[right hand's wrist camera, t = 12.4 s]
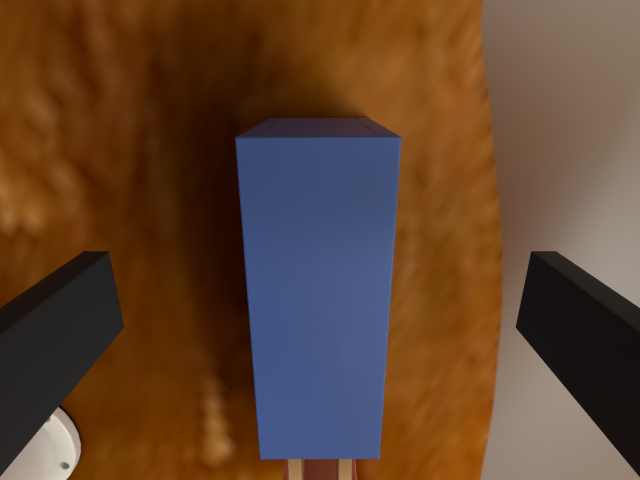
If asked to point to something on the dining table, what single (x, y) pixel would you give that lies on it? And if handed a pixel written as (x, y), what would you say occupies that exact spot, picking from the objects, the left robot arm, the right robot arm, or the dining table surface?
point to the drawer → (320, 469)
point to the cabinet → (318, 280)
